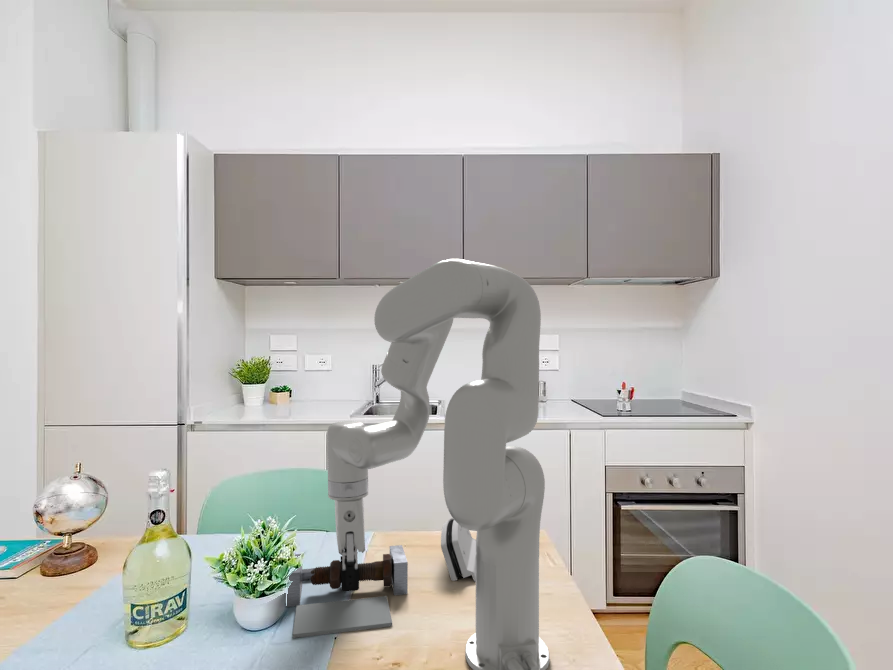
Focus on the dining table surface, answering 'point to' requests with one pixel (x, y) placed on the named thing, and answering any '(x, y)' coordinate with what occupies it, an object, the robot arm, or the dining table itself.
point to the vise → (397, 563)
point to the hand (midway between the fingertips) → (349, 582)
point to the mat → (341, 616)
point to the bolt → (366, 572)
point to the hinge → (458, 550)
